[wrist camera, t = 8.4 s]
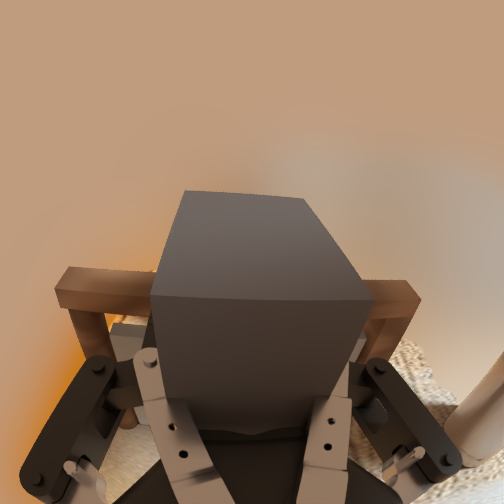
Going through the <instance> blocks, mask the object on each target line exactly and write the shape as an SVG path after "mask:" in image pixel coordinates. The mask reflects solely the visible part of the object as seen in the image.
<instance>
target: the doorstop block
mask: <svg viewBox="0 0 504 504" xmlns="http://www.w3.org/2000/svg"><path fill="white" fill-rule="evenodd" d="M374 301H375V298H374V297H373V295H372V294H371V292H370V291H369V289H368V288H367V286H366V285H365V283H364V282H363V280H362V279H361V278H360V276H359V275H358V273H357V272H356V271H355V269H354V267H353V266H352V265H351V263H350V262H349V260H348V259H347V257H346V256H345V254H344V253H343V252H342V250H341V249H340V247H339V246H338V245H337V244H336V242H335V240H334V239H333V238H332V236H331V235H330V234H329V232H328V231H327V229H326V228H325V227H324V226H323V224H322V223H321V221H320V220H319V219H318V217H317V216H316V215H315V213H314V212H313V211H312V209H311V208H310V207H309V205H308V204H307V203H306V202H305V200H304V199H301V198H291V197H279V196H267V195H254V194H240V193H224V192H206V191H205V192H204V191H185V192H184V195H183V197H182V200H181V202H180V205H179V208H178V211H177V213H176V216H175V219H174V222H173V225H172V227H171V231H170V233H169V236H168V239H167V242H166V245H165V248H164V251H163V254H162V257H161V260H160V263H159V266H158V269H157V273H156V276H155V279H154V282H153V286H152V289H151V292H150V302H151V310H152V318H153V325H154V332H155V339H156V346H157V352H158V358H159V364H160V369H161V375H162V380H163V385H164V391H165V395H166V398H184V400H185V402H186V405H187V407H188V410H189V412H190V414H191V417H192V419H193V421H194V424H195V426H196V428H197V431H198V429H205V430H227V431H232V432H237V433H242V434H247V435H255V434H259V433H262V432H266V431H269V430H273V429H276V428H285V427H296V426H300V425H301V423H302V421H303V419H304V417H305V415H306V413H307V411H308V409H309V407H310V405H311V403H312V401H313V399H314V397H315V395H331V393H332V392H333V390H334V388H335V386H336V384H337V382H338V380H339V378H340V376H341V374H342V372H343V370H344V368H345V366H346V364H347V362H348V360H349V358H350V356H351V354H352V352H353V350H354V348H355V345H356V343H357V341H358V339H359V337H360V334H361V332H362V330H363V328H364V325H365V323H366V321H367V318H368V316H369V314H370V311H371V309H372V306H373V304H374Z"/></svg>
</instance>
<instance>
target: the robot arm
mask: <svg viewBox="0 0 504 504" xmlns="http://www.w3.org/2000/svg"><path fill="white" fill-rule="evenodd" d="M377 399H378V400H379V401H380V402H379V401H378V400H377ZM380 403H381V404H382V405H381V404H380ZM139 406H144V408H145V411H146V415H147V418H148V421H149V424H150V428H151V431H152V434H153V437H154V440H155V443H156V446H157V449H158V452H159V454H160V457H161V458H160V459H159V460H158V461H157V462H156V463H155V464H154V465H153V466H152V467H151V468H150V469H149V470H148V471H147V472H146V473H145V474H144V475H143V476H142V477H141V478H140V479H139V480H138V481H137V482H136V483H135V484H133V485H132V486H131V487H130V488H129V489H128V490H127V491H126V492H125V493H124V494H123V495H121V496H120V497H119V498H118V499H117V500H116V501H115V502H114V503H113V504H410V503H411V502H412V501H414V500H415V499H417V498H418V497H419V496H421V495H422V494H424V493H425V492H427V491H429V490H430V489H432V488H434V487H435V486H437V485H439V484H440V483H442V482H443V481H445V480H447V479H448V478H450V477H451V476H453V475H454V474H456V473H457V472H458V471H459V470H460V469H461V467H462V465H463V466H465V467H477V466H480V465H482V464H483V463H485V462H486V461H488V460H489V459H490V458H492V457H493V456H494V455H495V454H497V453H498V452H499V451H501V450H502V449H503V448H504V352H503V353H502V354H501V356H500V357H499V359H498V360H497V361H496V363H495V364H494V365H493V367H492V368H491V369H490V370H489V372H488V373H487V374H486V375H485V377H484V378H483V379H482V380H481V382H480V383H479V384H478V385H477V386H476V387H475V389H474V390H473V391H472V392H471V393H470V395H468V396H467V398H466V399H465V400H464V401H463V402H462V403H461V404H460V405H459V406H458V407H457V408H456V409H455V410H454V411H453V412H452V414H451V415H450V416H449V417H448V418H447V420H446V422H445V424H444V429H442V428H441V426H440V425H439V424H438V423H437V421H436V420H435V419H434V417H433V416H432V415H431V413H430V412H429V411H428V410H427V408H426V407H425V406H424V405H423V403H422V402H421V401H420V399H419V398H418V397H417V396H416V394H415V393H414V392H413V391H412V389H411V388H410V387H409V386H408V384H407V383H406V382H405V381H404V379H403V378H402V377H401V376H400V375H399V373H398V372H397V371H396V370H395V368H394V367H393V366H392V365H391V364H390V363H389V362H388V361H387V360H385V359H383V358H378V357H376V358H371V359H370V360H368V362H367V363H366V364H361V363H355V362H351V361H348V362H347V364H346V366H345V368H344V370H343V372H342V374H341V376H340V378H339V380H338V382H337V384H336V386H335V388H334V390H333V392H332V393H331V395H315V397H314V399H313V401H312V403H311V405H310V407H309V409H308V411H307V413H306V415H305V417H304V419H303V421H302V423H301V425H300V426H296V427H285V428H276V429H273V430H269V431H266V432H262V433H259V434H255V435H247V434H242V433H237V432H232V431H227V430H205V429H198V431H197V428H196V426H195V424H194V421H193V419H192V417H191V414H190V412H189V410H188V407H187V405H186V402H185V400H184V398H166V395H165V391H164V385H163V380H162V375H161V369H160V364H159V358H158V352H157V346H156V339H155V332H154V325H153V318H152V310H151V311H150V315H149V319H148V323H147V327H146V331H145V335H144V339H143V344H142V348H141V350H140V351H138V352H137V353H136V354H135V356H134V358H132V359H130V360H126V361H120V362H113V361H112V359H110V358H109V357H107V356H105V355H95V356H92V357H90V358H88V359H87V360H86V361H85V362H84V364H83V365H82V367H81V368H80V370H79V372H78V373H77V374H76V376H75V377H74V379H73V381H72V382H71V384H70V385H69V387H68V389H67V390H66V392H65V393H64V395H63V396H62V398H61V399H60V401H59V403H58V404H57V406H56V408H55V409H54V411H53V413H52V414H51V416H50V418H49V419H48V421H47V422H46V424H45V426H44V428H43V429H42V431H41V433H40V435H39V436H38V438H37V440H36V442H35V443H34V445H33V447H32V449H31V451H30V452H29V454H28V456H27V458H26V460H25V462H24V464H23V466H22V467H21V470H20V473H19V477H20V482H21V485H22V486H23V488H24V489H25V490H26V491H27V492H28V493H29V494H31V495H33V496H34V497H36V498H37V499H39V500H40V501H41V502H43V503H45V504H108V502H107V500H106V497H105V491H106V481H105V478H104V477H103V475H102V474H101V473H100V472H99V469H100V466H101V464H102V462H103V460H104V457H105V455H106V453H107V451H108V449H109V446H110V444H111V442H112V440H113V438H114V436H115V433H116V431H117V429H118V427H119V425H120V423H121V421H122V418H123V416H124V414H125V412H126V410H127V409H128V408H134V407H139ZM382 406H383V407H384V408H385V409H384V408H383V407H382ZM385 410H386V411H387V412H386V411H385ZM351 414H352V415H353V417H354V418H355V420H356V421H357V423H358V424H359V426H360V428H361V429H362V431H363V432H364V434H365V435H366V437H367V438H368V440H369V441H370V443H371V445H372V446H373V448H374V449H375V451H376V452H377V454H378V455H379V457H380V458H381V460H382V461H383V463H384V465H383V468H382V473H383V475H382V479H383V480H384V481H385V483H384V482H382V481H381V480H379V479H378V478H376V477H375V476H373V475H372V474H371V473H369V472H368V471H366V470H365V469H364V468H362V467H361V466H359V465H358V464H357V463H355V462H354V461H352V460H351V459H350V458H348V447H349V436H350V424H351Z"/></svg>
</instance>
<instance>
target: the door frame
mask: <svg viewBox="0 0 504 504" xmlns="http://www.w3.org/2000/svg"><path fill="white" fill-rule="evenodd" d="M155 276H156V272H139V271H122V270H108V269H93V268H80V267H68V269H67V270H66V272H65V273H64V275H63V276H62V278H61V279H60V281H59V282H58V284H57V285H56V287H55V292H56V295H57V298H58V302H59V305H60V307H61V308H66V309H68V310H69V313H70V316H71V320H72V322H73V325H74V328H75V331H76V334H77V337H78V339H79V342H80V344H81V347H82V349H83V352H84V355H85V357H86V360H87V359H88V358H90V357H92V356H95V355H105V356H107V357H109V358H110V359H112V361H113V362H117V359H116V356H115V353H114V349H113V346H112V343H111V339H110V336H109V331H108V327H107V323H106V319H105V315H104V313H110V314H120V315H131V316H143V317H149V315H150V311H151V302H150V292H151V289H152V286H153V282H154V279H155ZM363 282H364V283H365V285H366V286H367V288H368V289H369V291H370V292H371V294H372V295H373V297H374V298H375V301H374V304H373V306H372V309H371V311H370V314H369V316H368V318H367V321H366V323H365V325H364V328H363V331H364V333H365V335H366V337H367V340H366V342H365V344H364V346H363V348H362V350H361V352H360V354H359V356H358V358H357V360H356V361H355V363H361V364H366V363H367V362H368V360H370V359H371V358H376V357H378V358H383V359H385V360H387V361H389V359H390V357H391V356H392V354H393V352H394V350H395V349H396V347H397V345H398V344H399V342H400V340H401V338H402V336H403V335H404V333H405V331H406V329H407V327H408V325H409V323H410V322H411V319H412V318H413V315H414V314H415V312H416V310H417V308H418V306H419V304H420V302H421V299H420V297H419V296H418V295H417V293H416V292H415V291H414V290H413V288H412V287H411V286H410V285H409V283H408V282H407V281H406V280H363ZM351 416H352V414H351ZM137 423H138V417H137V415H136V412H135V410H134V408H128V409H127V410H126V412H125V414H124V416H123V418H122V421H121V423H120V425H119V427H121V428H123V429H132V428H134V427H135V426H136V425H137Z"/></svg>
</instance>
